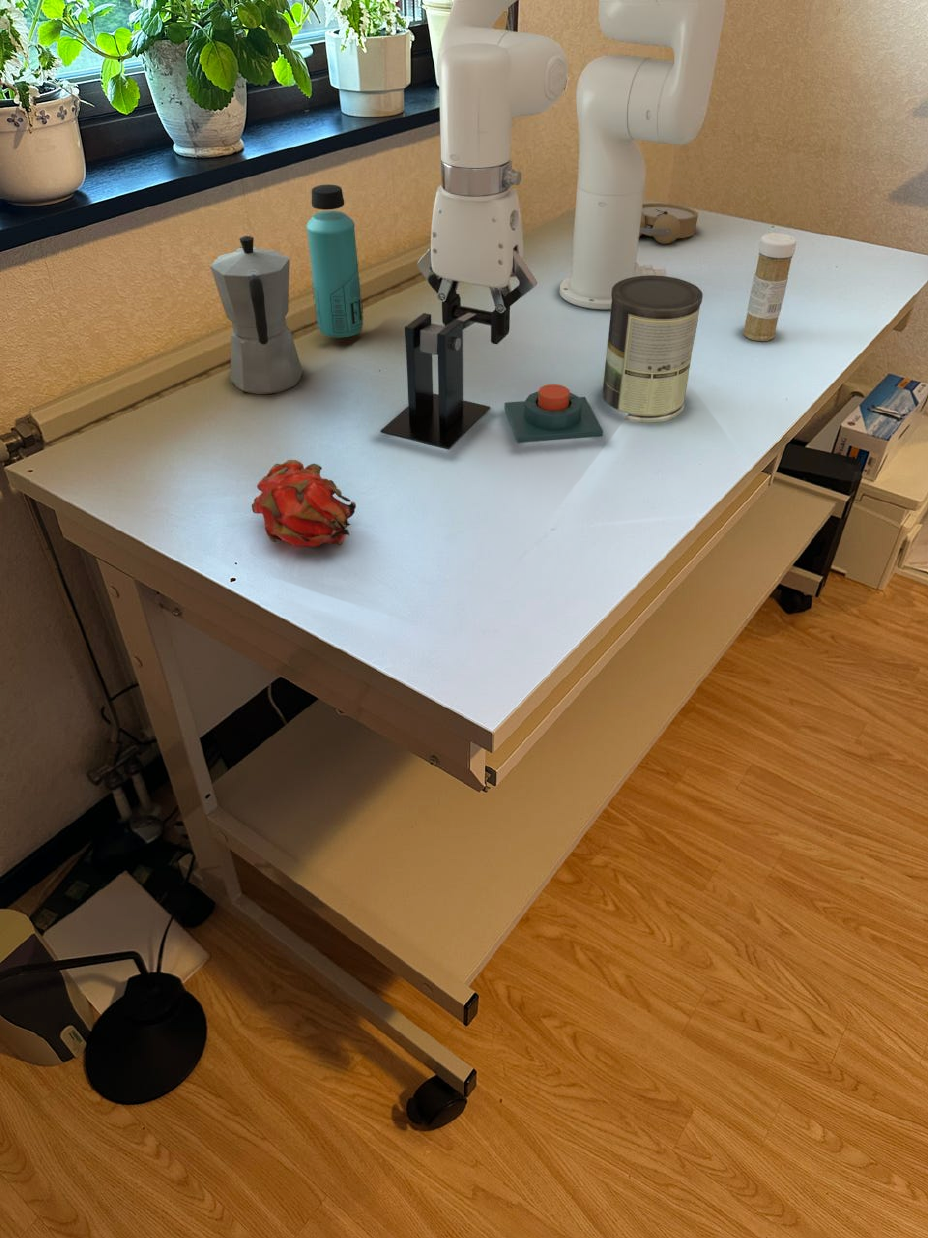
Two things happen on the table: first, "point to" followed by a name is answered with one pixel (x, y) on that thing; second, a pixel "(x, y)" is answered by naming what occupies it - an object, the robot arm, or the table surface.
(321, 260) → the beverage bottle
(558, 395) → the button
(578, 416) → the button box
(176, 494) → the table surface
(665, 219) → the alarm clock
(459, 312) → the lever
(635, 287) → the coffee can
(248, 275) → the coffeepot
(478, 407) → the bracket
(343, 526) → the dragon fruit
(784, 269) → the sprinkles bottle
